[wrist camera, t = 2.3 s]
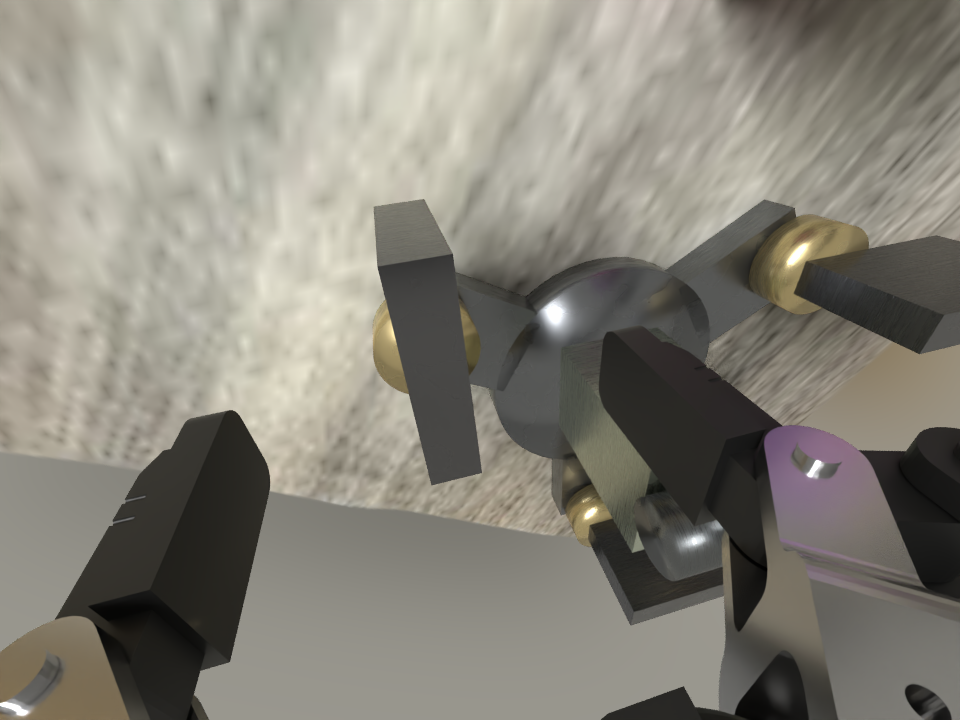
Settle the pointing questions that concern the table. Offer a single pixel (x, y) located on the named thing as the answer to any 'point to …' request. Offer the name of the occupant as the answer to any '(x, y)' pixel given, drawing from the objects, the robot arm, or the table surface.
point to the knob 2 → (864, 280)
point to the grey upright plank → (426, 337)
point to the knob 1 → (635, 565)
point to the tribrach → (576, 368)
